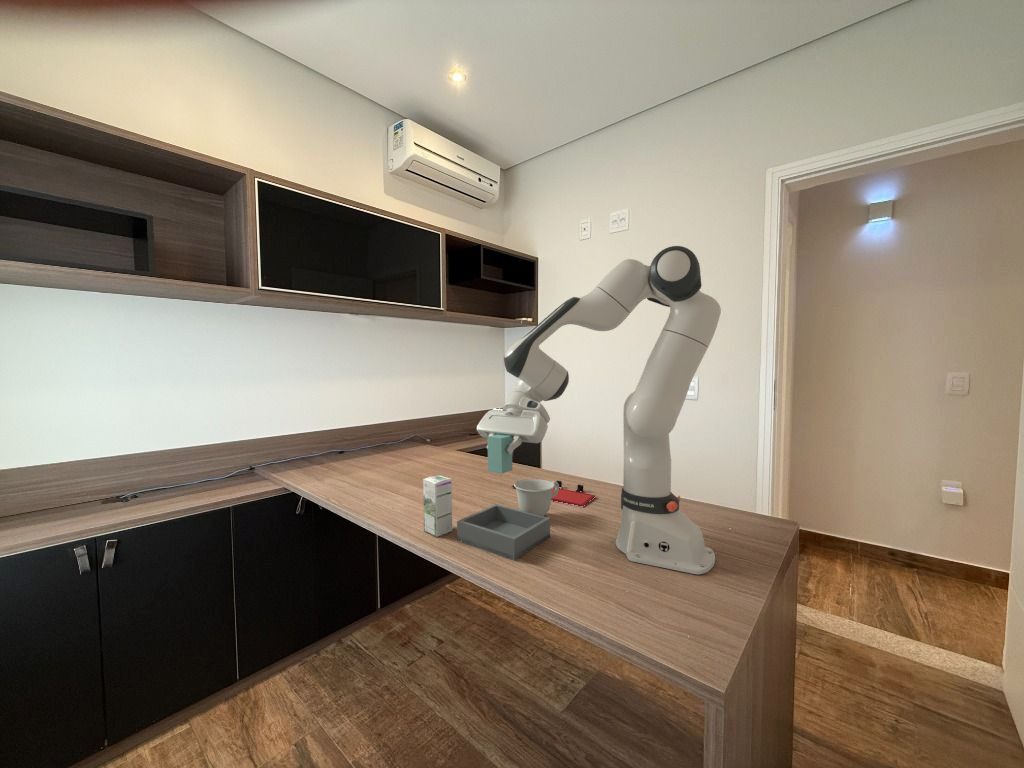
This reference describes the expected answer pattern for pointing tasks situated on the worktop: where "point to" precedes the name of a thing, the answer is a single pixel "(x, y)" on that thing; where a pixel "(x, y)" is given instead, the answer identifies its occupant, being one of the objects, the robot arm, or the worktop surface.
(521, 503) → the teacup
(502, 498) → the worktop surface
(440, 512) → the syrup box
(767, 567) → the worktop surface
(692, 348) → the robot arm
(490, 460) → the teal block
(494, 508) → the tote
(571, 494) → the red flat slab
